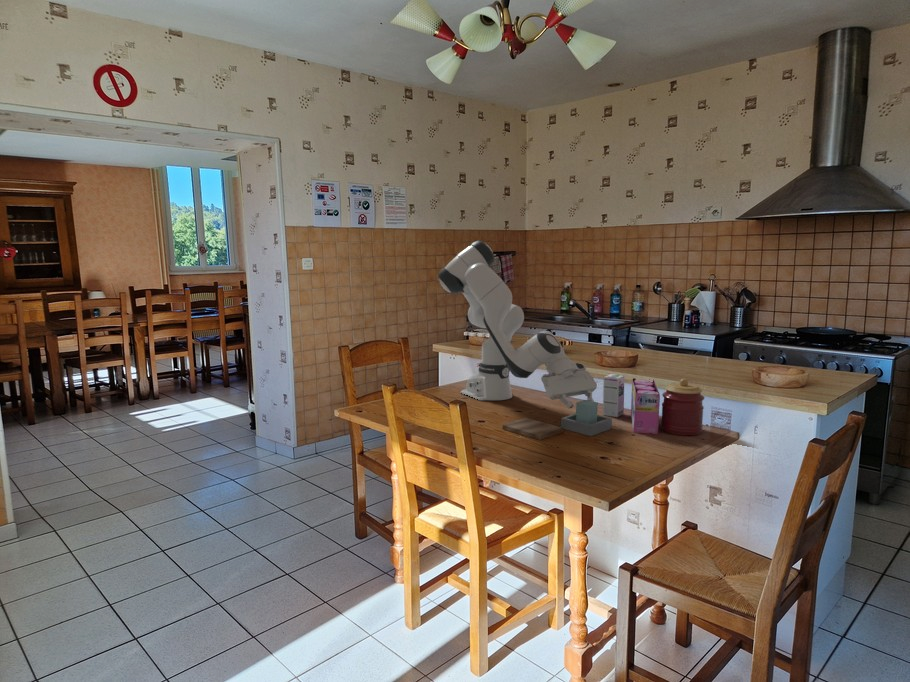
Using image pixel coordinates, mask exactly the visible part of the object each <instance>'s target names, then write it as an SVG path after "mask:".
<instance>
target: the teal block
mask: <svg viewBox="0 0 910 682" xmlns="http://www.w3.org/2000/svg"><path fill="white" fill-rule="evenodd" d="M575 406H576V409H575V411H576V412H575V414H576V421H579V422H582V423H586V424H590V425H591V424H593V423H596V422H597V415H598V408H599V407H598V406H599V402H596V401H594V402H592V401H588V400H587V399H582V400H581V401H576V403H575Z"/></svg>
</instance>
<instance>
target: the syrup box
mask: <svg viewBox="0 0 910 682" xmlns="http://www.w3.org/2000/svg"><path fill="white" fill-rule="evenodd" d="M602 396H603V398H602V399H603V400H602V402H603V403H602V414H603V415H602V416H605V417H611V418H619V417H620V416H621V415H624V412H625V411H624V409H625V407H624V406H625V403H624V401H625V375H623V374H616V373H615V374H614V373H613V374H611V373H610V374H608V375H606V376H604V377H603V395H602Z"/></svg>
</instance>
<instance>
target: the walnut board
mask: <svg viewBox="0 0 910 682" xmlns="http://www.w3.org/2000/svg"><path fill="white" fill-rule="evenodd" d="M502 430H504V431H507V432H511V433H514V434H518V435H522V436H525V437H528V438H531V439H535V440H537V441H542V440H544V439H547V438H550V437H553V436H555V435H558V434H562V433H563V432H564V429H563V428H562V427H561V426H558V425H555V424H554V425H553V424H550V423H548V422H543V421H539V420H535V419H532V418H528V417H524V418H520V419H517V420H514V421H511V422H508V423H504V424H502Z"/></svg>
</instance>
